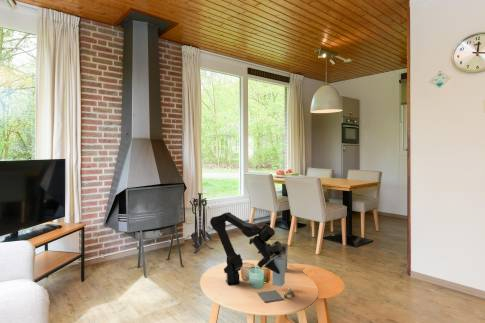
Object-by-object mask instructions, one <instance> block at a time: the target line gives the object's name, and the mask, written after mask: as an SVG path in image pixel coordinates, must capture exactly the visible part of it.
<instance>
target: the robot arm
mask: <svg viewBox="0 0 485 323" xmlns="http://www.w3.org/2000/svg"><path fill="white" fill-rule="evenodd" d="M227 222H228V223H229V224H231V225H232V226H234V227H236V228H237V229H239V230H241V233H242V234H243V235H244V236H245V238H246V237H247V238H249V242H248V243H249V245H252V244H253V245H254V246H255V248H256V249H257V250H258V251H257V254H261V257H263V258H261V259H260V260H259V261H258V262H257V266H258V268H259V269H261V268H267V269H268V270H270V271H272V272H273V271H274V272H276V273H277V274H279V273H280V272H279V270H278V268H277V267H276V265H275V264H274V258H275V257H280V256H281V253H282V252H283V251H282V248H281V245H282V244H283V243H282V244H281V242H280V241H279V240H276V241H274V243H275V244H274V245H272V244H271V243H267V242H268V241H269V240H270V239H272V238H273V236H275V235H276V231H275V229H274V228H273V227H271V226H270V225H268V224H264V225H263V226H262V228H261V227H259V226H258V225H256V224H253V223H252V222H246V221H244V220H243V219H241V218H240V217H237V216H236V215H234V214H233V213H231V212H230V211H228V212H224V213H222V214H220V215H217V216H212V217H211V218H210V221H209V223H210V226H211V228H212V229H213V230H214V231H215V232H216V233H217V235H218V237H219V240H220V242H221V245H222V247H223V250H224V252H225V255H226V264H227V265H226V266H225V267H224V268H223V272H224V274H226V279H225V282H226V284H227V285H228V286H234V285H240V273H239V271H241V270H242V267H243V264H244V262H243V258H242V256H241V254H240V253H239V254H237V253H236V252H235V249H234V247H233V244H232V241H231V239H230V236H229V235H228V232H227V230H226V225H227ZM252 237H253V238H252Z"/></svg>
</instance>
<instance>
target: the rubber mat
mask: <svg viewBox="0 0 485 323" xmlns="http://www.w3.org/2000/svg"><path fill="white" fill-rule="evenodd" d="M257 294H258V296H259V297H260V299H261V300H262V301H263V302H264V303H271V302H272V303H273V302H278V301H279V302H280V301H284V299H285V298H284V297H283V296H282V295H281V294H280V293H279V292H278V291H277V290H275V289H274V290H266V291H258V292H257Z"/></svg>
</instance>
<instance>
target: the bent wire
mask: <svg viewBox="0 0 485 323" xmlns="http://www.w3.org/2000/svg"><path fill="white" fill-rule="evenodd" d="M287 291H288V292H286V291H284V292H283V299H287V298H288V296H291V297H292V298H294V297H295V292H294V291H293V290H292V288H290V287H289V288H287Z"/></svg>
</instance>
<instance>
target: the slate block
mask: <svg viewBox="0 0 485 323" xmlns="http://www.w3.org/2000/svg"><path fill="white" fill-rule="evenodd" d="M274 264H275V265H276V267H277V268H278V270H279V272H280V273H279V274H277V273H276V272H274V271H272V286H275V287H280V288H281V287H283V286H284V285H285V284H286V283H285V278H286V275H285V274H286V272H285V258H282V257H275V258H274Z"/></svg>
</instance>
